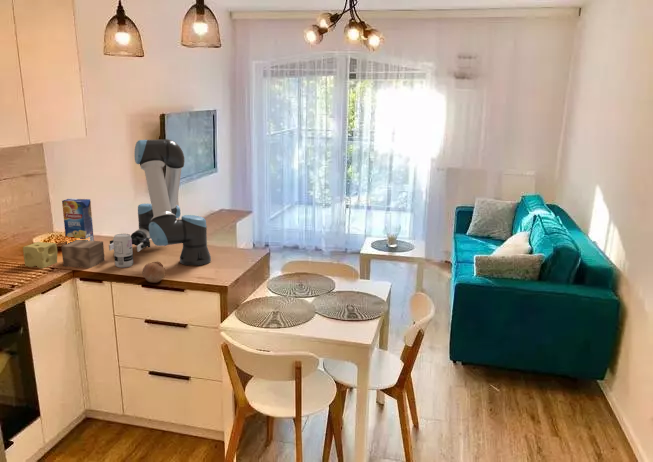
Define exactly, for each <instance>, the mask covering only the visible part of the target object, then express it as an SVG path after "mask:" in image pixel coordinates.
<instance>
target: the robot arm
mask: <svg viewBox="0 0 653 462" xmlns="http://www.w3.org/2000/svg"><path fill="white" fill-rule="evenodd" d="M133 154H134V155H133V156H134V162H135V164H136V165H139V167H140V169H141V170H143V171H144V174H145V175H144V176H145V180H146V184H147V190H148V194H149V195H148V196H149V200H150V203H140V204H138V206H137V217H138V218H137V219H138V229H137V230H136V231H134V232H133V233H132V234H130V236H131V238H132V245H133V246H136V251H137V252H140V251H141V250H143V249H145V248H151V241H152V242H153V245H155V246H157V247H160V246H161V247H163V246H164V247H165V246H171V245H179V244H182V249H181V252H180V255H179V263H180V264H181V265H184V266H188V265H198V266H204V265H207V264H209V263H211V262H212V256H211V253H210V251H209V248H208V241H207V240H208V239H207V238H208V236H207V235H208V232H207V231H208V230H207V228H208V226H207V220H206V219H205V217H204V216H203V217H202V216H199V215H193V214H185V215H184V214H183V215H181V207H180V206H179V205H178V199H179V198H178V197H179V189H180V184H181V175H182V170H183V168H184V167H185V154H184V152H183V149H182V148H181V147H180V145H179V144H178V143H177V142H176V141H174V140H172V139H168V138H166V139H165V138H164V139H147V138H146V139H139V140H137V141H136V143H135V147H134V153H133ZM165 166H166V167H165ZM164 167H165V169H166V170H165V173H164V170H163V169H164ZM180 217H181V218H180ZM179 218H180V219H179ZM150 240H151V241H150ZM108 250H109V251H110V252H111V251H113V250H114V244H113V239H112V240H109V244H108ZM210 261H211V262H210ZM203 264H204V265H203Z"/></svg>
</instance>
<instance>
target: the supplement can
mask: <svg viewBox="0 0 653 462" xmlns="http://www.w3.org/2000/svg"><path fill="white" fill-rule="evenodd" d="M112 240H113V244H114V249H113V257H114V265H115V267H117V268H129V267H132V266H133V265H134V255H133V254H134V253H133V244H132V238H131V234H129V233H117V234H115V235H113V238H112Z"/></svg>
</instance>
